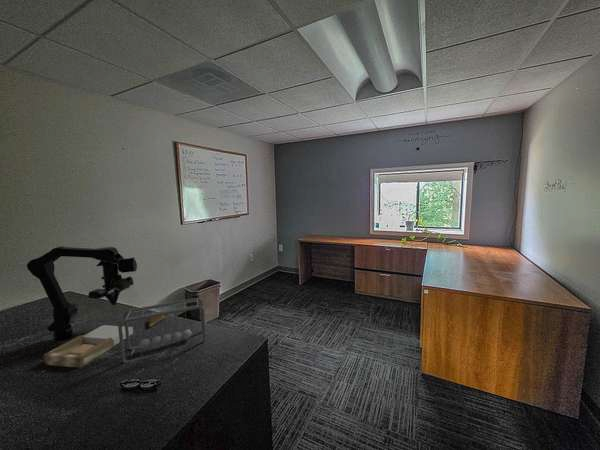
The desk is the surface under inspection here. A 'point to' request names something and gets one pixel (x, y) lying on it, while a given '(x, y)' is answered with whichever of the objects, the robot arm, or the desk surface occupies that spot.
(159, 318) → the shard
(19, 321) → the desk surface
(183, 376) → the desk surface
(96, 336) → the plate
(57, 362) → the box
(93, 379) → the desk surface
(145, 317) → the newton's cradle
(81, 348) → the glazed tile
